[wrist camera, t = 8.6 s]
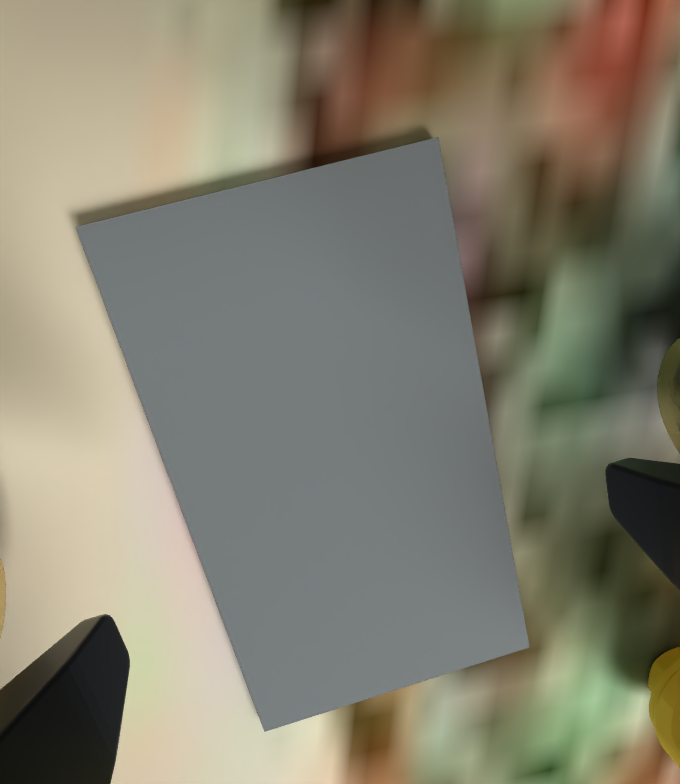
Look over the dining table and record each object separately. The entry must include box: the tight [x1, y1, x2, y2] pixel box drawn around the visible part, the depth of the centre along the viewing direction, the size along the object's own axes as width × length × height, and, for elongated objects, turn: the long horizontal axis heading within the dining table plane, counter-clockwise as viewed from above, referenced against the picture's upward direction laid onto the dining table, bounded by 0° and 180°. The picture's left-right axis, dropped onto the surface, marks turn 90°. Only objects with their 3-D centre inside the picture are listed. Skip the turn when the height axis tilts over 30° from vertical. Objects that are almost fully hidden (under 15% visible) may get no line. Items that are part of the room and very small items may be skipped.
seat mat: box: [76, 137, 529, 732], centre depth 13 cm, size 14×8×1 cm, turn 14°
